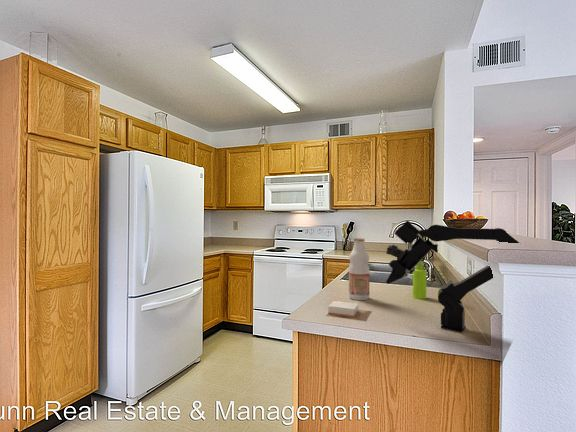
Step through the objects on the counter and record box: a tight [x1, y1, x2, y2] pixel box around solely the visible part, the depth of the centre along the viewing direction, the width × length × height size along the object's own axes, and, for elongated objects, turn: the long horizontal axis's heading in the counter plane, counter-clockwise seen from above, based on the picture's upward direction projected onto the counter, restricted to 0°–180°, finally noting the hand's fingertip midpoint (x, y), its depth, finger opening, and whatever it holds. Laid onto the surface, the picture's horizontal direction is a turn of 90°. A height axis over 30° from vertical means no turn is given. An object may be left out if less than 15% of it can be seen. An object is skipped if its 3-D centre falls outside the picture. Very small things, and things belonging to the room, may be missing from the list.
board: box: [325, 309, 372, 322], centre depth 122 cm, size 15×13×1 cm
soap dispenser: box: [412, 255, 429, 300], centre depth 149 cm, size 6×7×20 cm
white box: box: [327, 300, 359, 317], centre depth 123 cm, size 3×8×10 cm
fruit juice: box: [348, 237, 370, 301], centre depth 148 cm, size 9×9×28 cm
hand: (387, 282), depth 118 cm, fingers closed
